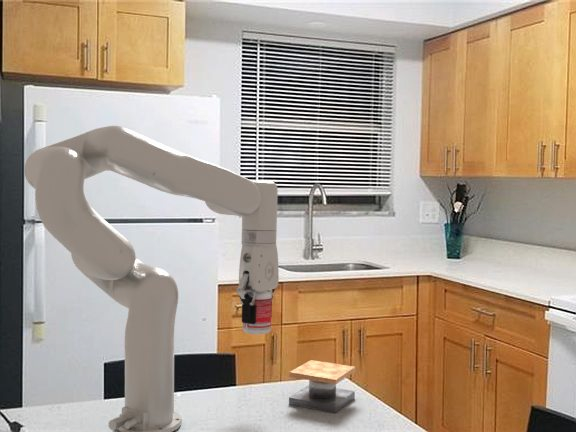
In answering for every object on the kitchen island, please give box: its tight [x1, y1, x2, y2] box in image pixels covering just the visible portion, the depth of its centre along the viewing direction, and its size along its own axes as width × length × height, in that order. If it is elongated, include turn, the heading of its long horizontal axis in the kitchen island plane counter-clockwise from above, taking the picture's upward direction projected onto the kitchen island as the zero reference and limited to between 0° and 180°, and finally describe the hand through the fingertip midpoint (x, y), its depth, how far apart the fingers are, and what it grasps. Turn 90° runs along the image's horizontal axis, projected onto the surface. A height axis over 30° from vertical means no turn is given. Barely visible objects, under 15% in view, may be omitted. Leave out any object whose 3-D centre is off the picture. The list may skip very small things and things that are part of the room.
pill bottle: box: [242, 288, 273, 335], centre depth 144 cm, size 6×6×11 cm
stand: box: [288, 359, 356, 414], centre depth 147 cm, size 11×11×7 cm
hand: (256, 319), depth 144 cm, fingers closed on pill bottle, 6 cm apart
